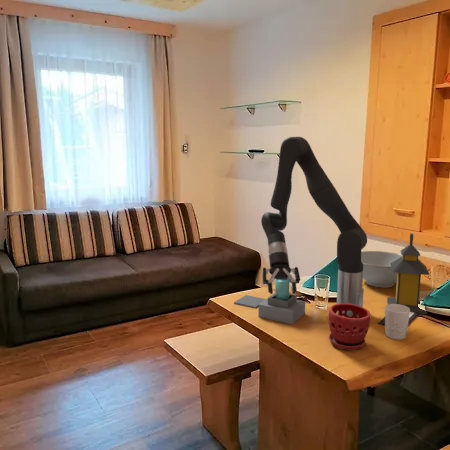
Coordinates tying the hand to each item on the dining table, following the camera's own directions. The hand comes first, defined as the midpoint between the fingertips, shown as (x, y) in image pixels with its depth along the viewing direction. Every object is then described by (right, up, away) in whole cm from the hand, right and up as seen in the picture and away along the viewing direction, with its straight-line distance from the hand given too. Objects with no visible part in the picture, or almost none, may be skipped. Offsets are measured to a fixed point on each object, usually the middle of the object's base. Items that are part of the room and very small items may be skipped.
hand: (282, 293), depth 171 cm
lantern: (+51, -7, +11) cm, 53 cm away
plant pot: (+19, -14, -21) cm, 32 cm away
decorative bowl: (+50, -2, +39) cm, 64 cm away
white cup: (+37, -13, -15) cm, 42 cm away
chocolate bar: (+43, -10, -1) cm, 44 cm away
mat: (-11, -6, +17) cm, 21 cm away
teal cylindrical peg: (0, -4, +2) cm, 5 cm away
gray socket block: (0, -9, +3) cm, 9 cm away
